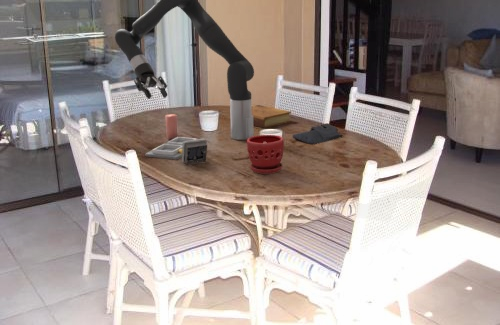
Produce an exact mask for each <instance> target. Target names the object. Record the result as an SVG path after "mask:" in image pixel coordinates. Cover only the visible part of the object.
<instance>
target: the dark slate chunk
mask: <svg viewBox="0 0 500 325" xmlns="http://www.w3.org/2000/svg"><path fill="white" fill-rule="evenodd" d="M291 136H292V138H293V139H295V140H298V141H300V140H301V141H302V142H303V143H305V144H309V145H313V144H314V145H318V144H321V143H326V142H329V141H333V139H334V140H336V138H337V139H340V138H339V137H341V138H343V137H344V136H343V135H342V134H341V133H340V132H338V128H337V127H336V126H334V125H331V124H330V123H323V124H321V125H316V126H311V128H310V129H309V130H306V131H303V132H299V133H294V134H292V135H291ZM342 136H343V137H342ZM317 143H318V144H317Z"/></svg>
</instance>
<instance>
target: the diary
mask: <svg viewBox="0 0 500 325" xmlns="http://www.w3.org/2000/svg"><path fill="white" fill-rule="evenodd" d="M251 109H252V115H253V127H257V128H261V129H267V128H272V127H275V126H279V125H284V124H288V123H291V122H292V121H291V120H290V115H291V114H292V111H290V110H285V109H280V108H275V107H269V106H265V105H262V104H261V105H260V104H256V105H251ZM287 122H288V123H287ZM283 123H284V124H283Z"/></svg>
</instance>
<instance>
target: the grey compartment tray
mask: <svg viewBox="0 0 500 325" xmlns="http://www.w3.org/2000/svg"><path fill="white" fill-rule="evenodd" d="M197 139H198V138H197V137H196V138H193V137H184V136H183V137H182V136H178V137H177V138H175V139H170V140H169V141H167V142H165V143H163V144H161V145H159V146H157V147H155V148H153V149H152V150H150V151H147V152H146V153H145V157H146V158H147V157H149V158H158V159H168V160H178V159H180V158H182V147H183V142H184V141H189V140H197Z"/></svg>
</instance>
